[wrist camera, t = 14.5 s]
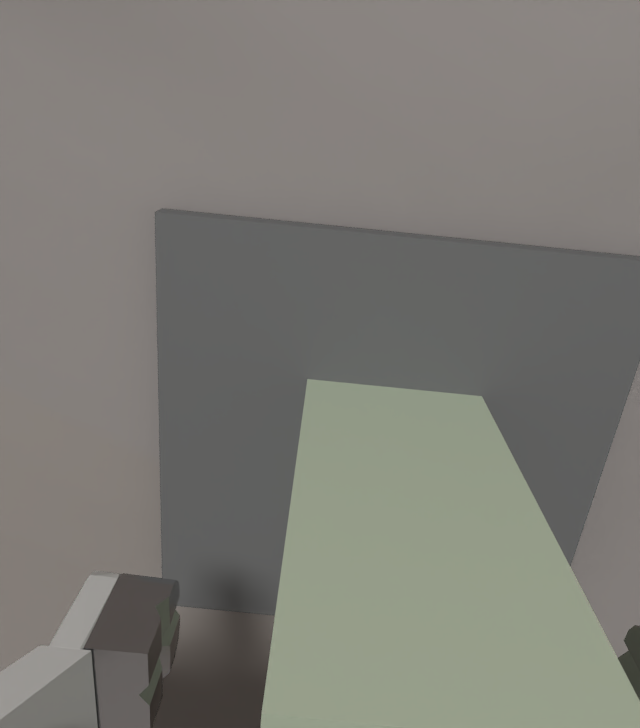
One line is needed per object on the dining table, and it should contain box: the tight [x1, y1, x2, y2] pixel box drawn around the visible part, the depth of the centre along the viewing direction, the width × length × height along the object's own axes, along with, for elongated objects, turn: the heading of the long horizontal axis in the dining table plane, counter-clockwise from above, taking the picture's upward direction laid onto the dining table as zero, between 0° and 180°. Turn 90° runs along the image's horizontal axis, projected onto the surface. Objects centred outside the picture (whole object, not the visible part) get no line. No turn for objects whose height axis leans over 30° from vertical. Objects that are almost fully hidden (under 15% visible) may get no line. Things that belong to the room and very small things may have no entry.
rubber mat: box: [155, 209, 640, 615], centre depth 16 cm, size 12×12×1 cm
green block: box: [260, 379, 640, 728], centre depth 11 cm, size 4×4×9 cm
